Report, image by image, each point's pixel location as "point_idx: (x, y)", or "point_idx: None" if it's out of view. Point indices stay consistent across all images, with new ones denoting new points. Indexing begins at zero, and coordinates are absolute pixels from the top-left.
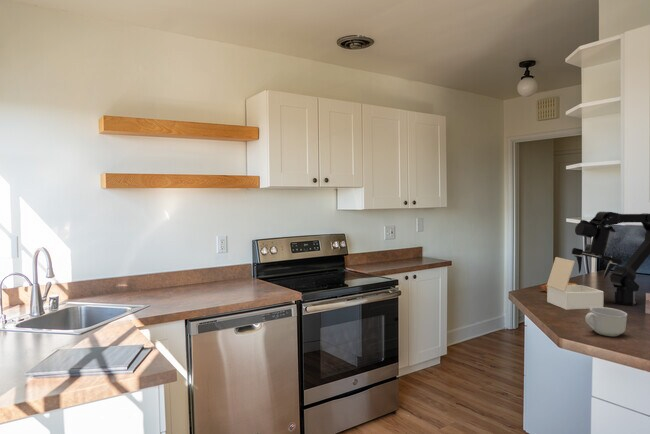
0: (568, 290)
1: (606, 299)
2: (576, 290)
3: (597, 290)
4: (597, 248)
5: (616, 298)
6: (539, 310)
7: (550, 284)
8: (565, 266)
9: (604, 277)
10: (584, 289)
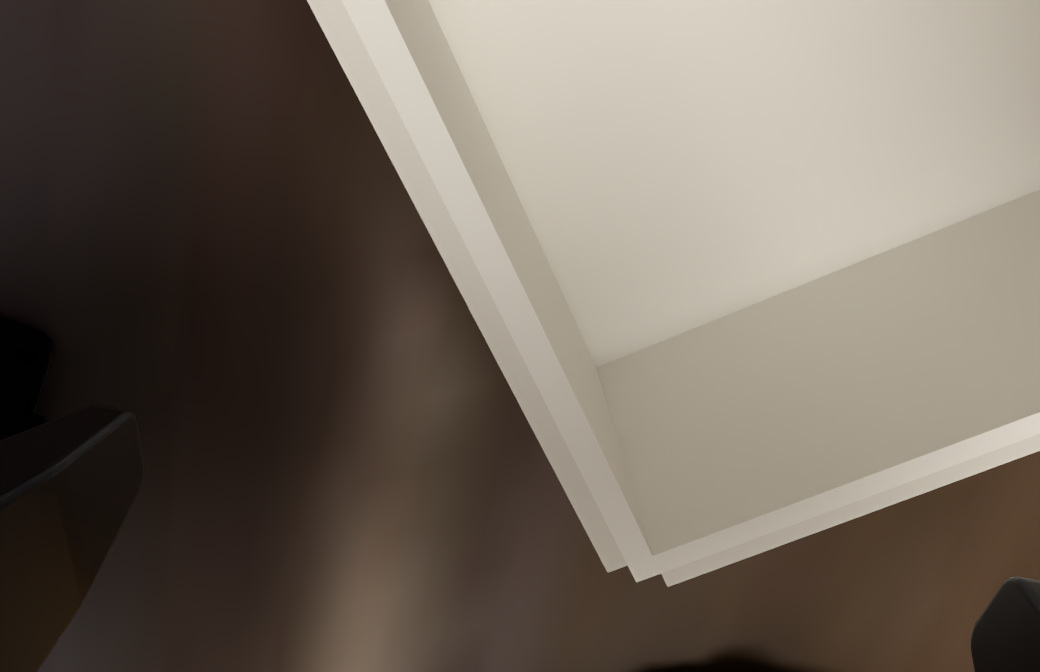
0: (919, 373)
1: (182, 582)
2: (738, 441)
3: (395, 22)
4: None
5: (2, 431)
6: None
7: None
8: None
9: (78, 421)
10: (603, 434)
